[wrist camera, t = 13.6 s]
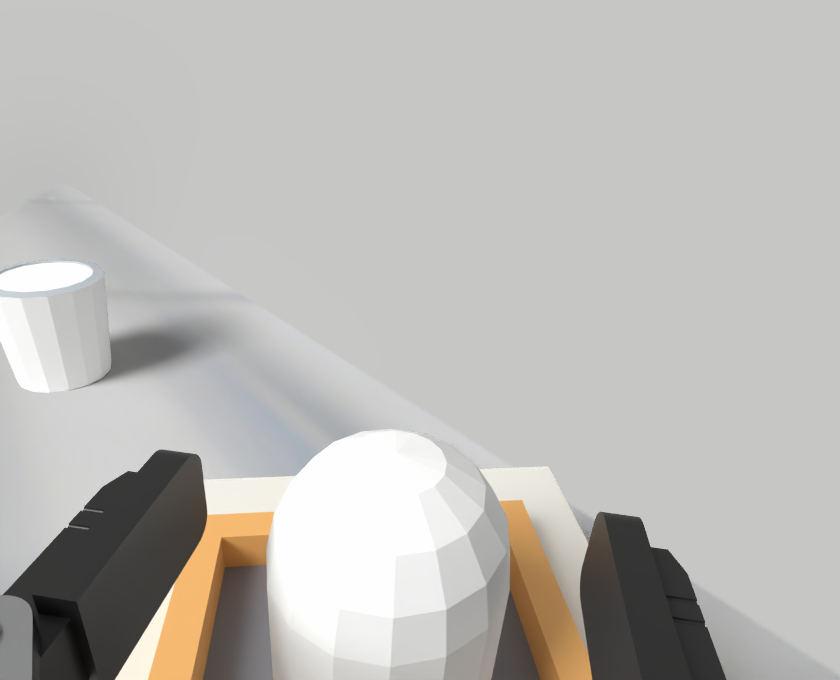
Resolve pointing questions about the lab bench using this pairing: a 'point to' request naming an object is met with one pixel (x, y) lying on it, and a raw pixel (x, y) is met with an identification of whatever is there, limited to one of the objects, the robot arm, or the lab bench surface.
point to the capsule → (387, 564)
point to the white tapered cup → (55, 324)
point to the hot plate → (248, 603)
